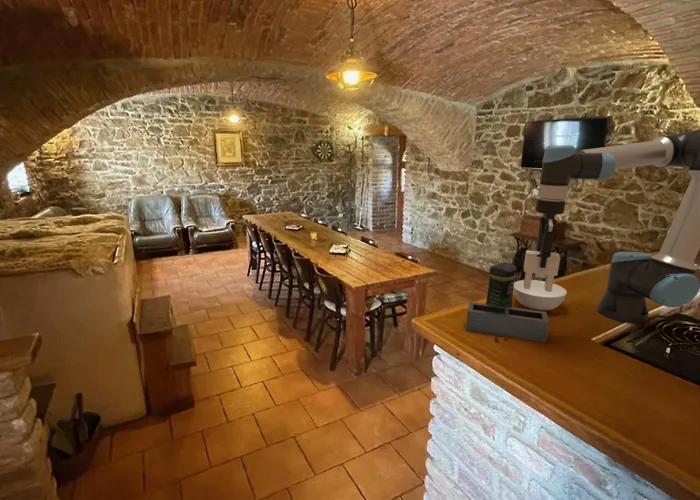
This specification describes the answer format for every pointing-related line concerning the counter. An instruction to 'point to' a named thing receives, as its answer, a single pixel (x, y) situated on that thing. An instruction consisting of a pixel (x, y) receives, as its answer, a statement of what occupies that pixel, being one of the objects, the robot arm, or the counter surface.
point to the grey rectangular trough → (507, 322)
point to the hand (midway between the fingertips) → (539, 274)
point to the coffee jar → (501, 284)
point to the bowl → (539, 295)
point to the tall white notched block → (531, 267)
